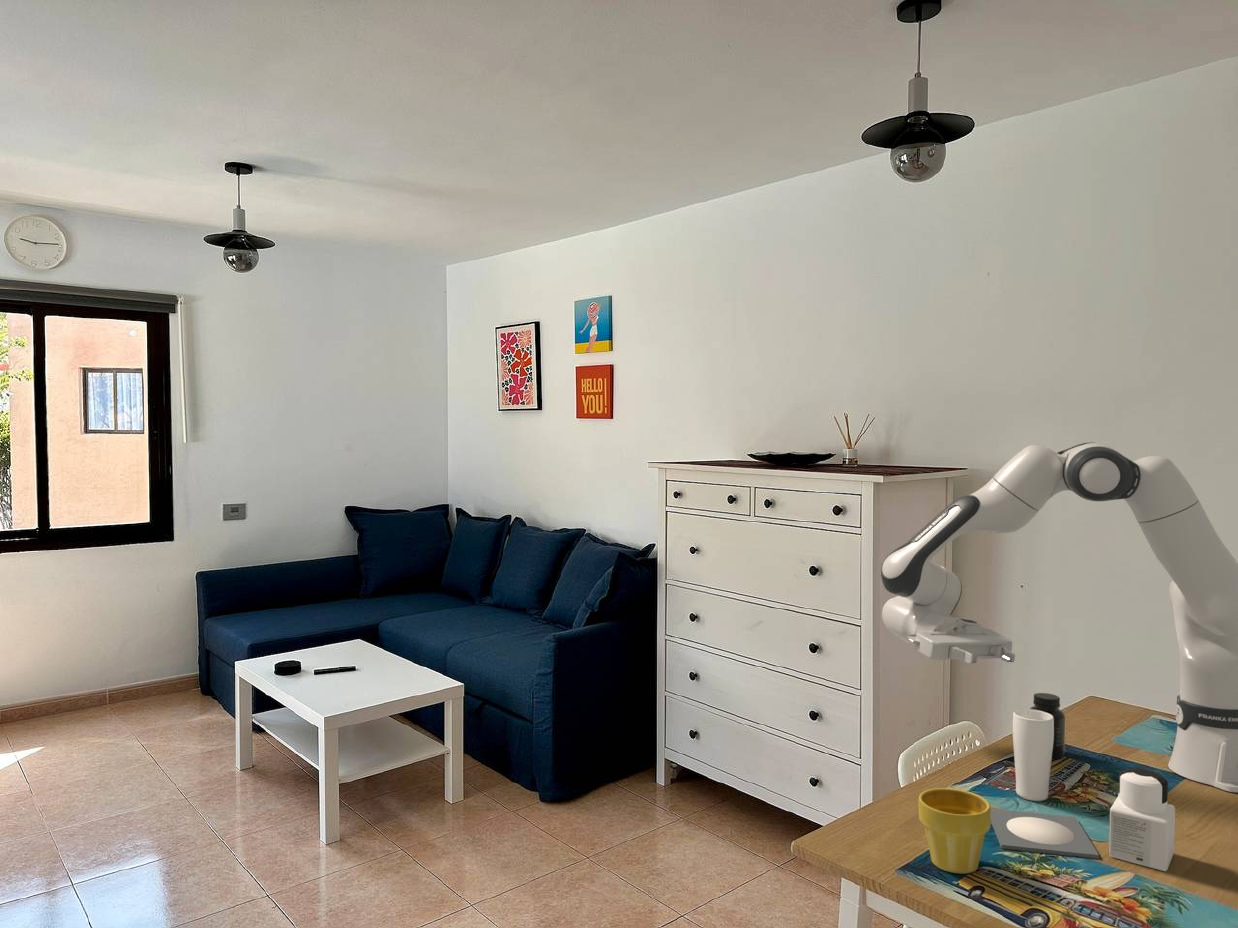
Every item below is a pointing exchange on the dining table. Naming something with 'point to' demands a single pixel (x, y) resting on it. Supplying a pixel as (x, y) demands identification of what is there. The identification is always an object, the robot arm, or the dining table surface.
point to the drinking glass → (1032, 752)
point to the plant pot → (954, 827)
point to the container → (1142, 820)
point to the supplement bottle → (1051, 706)
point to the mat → (1041, 833)
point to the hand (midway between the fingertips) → (993, 658)
